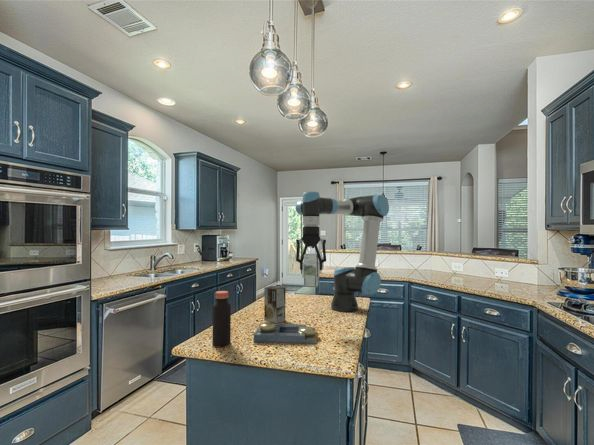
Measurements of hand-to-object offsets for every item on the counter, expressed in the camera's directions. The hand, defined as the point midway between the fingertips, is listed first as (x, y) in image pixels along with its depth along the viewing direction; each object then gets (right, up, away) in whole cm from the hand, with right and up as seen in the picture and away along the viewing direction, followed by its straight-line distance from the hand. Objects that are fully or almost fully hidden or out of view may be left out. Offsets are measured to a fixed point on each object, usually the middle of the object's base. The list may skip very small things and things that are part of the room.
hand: (311, 277), depth 141 cm
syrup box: (0, -4, 0) cm, 4 cm away
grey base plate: (-8, -23, -12) cm, 27 cm away
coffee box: (-17, -23, +12) cm, 32 cm away
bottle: (-35, -22, -20) cm, 47 cm away
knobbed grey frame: (-13, -23, -12) cm, 28 cm away
